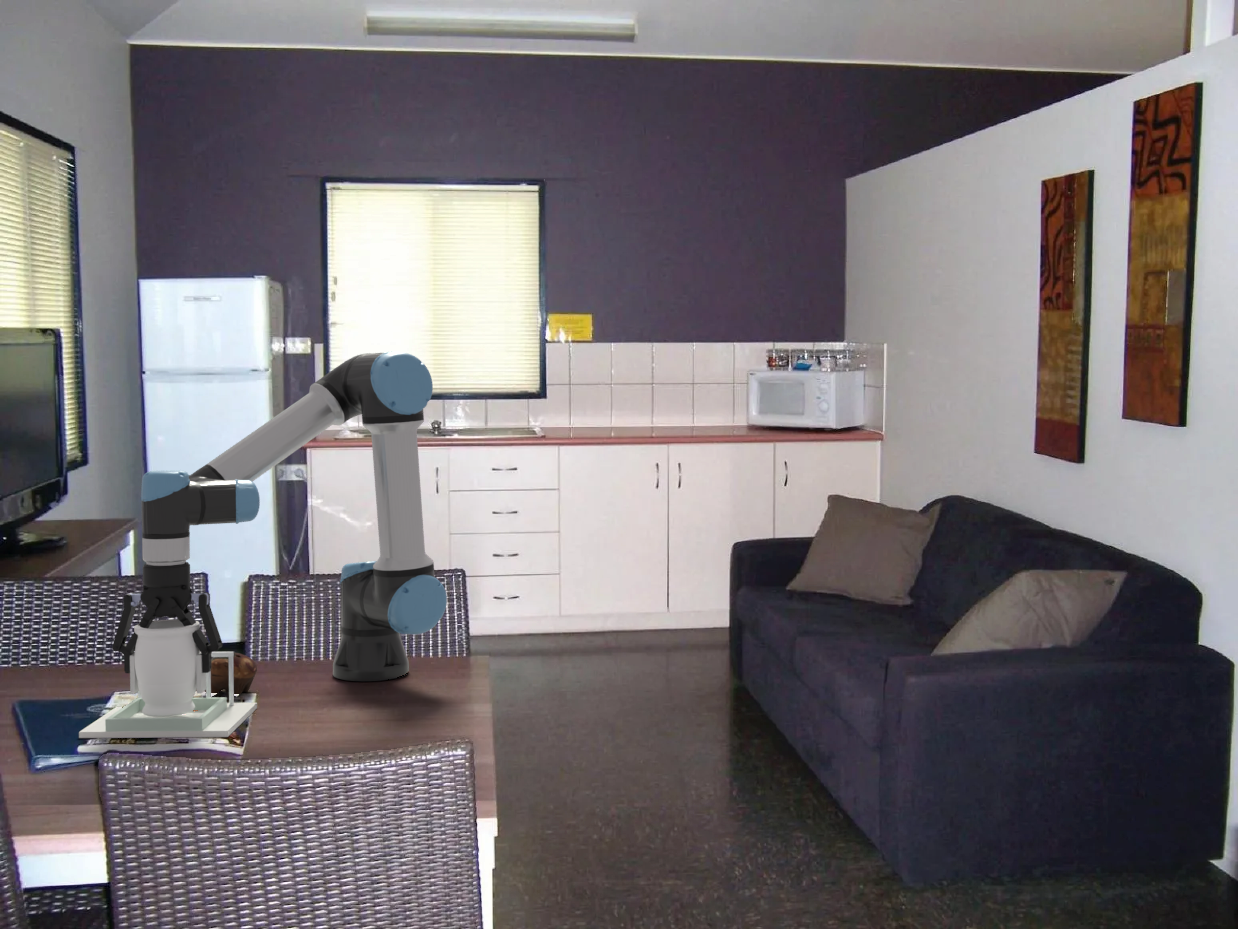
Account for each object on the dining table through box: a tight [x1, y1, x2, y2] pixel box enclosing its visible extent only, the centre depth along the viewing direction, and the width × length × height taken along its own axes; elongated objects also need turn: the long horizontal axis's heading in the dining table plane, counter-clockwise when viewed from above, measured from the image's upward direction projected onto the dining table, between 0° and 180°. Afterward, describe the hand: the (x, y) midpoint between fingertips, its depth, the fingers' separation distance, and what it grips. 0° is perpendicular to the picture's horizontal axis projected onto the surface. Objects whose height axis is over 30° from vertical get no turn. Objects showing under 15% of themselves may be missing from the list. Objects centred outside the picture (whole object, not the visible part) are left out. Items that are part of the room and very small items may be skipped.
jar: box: [133, 618, 201, 717], centre depth 206 cm, size 11×10×15 cm
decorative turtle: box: [204, 652, 258, 695], centre depth 229 cm, size 10×15×8 cm, turn 4°
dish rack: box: [78, 651, 258, 739], centre depth 208 cm, size 24×19×11 cm
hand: (168, 691), depth 206 cm, fingers closed on jar, 10 cm apart
